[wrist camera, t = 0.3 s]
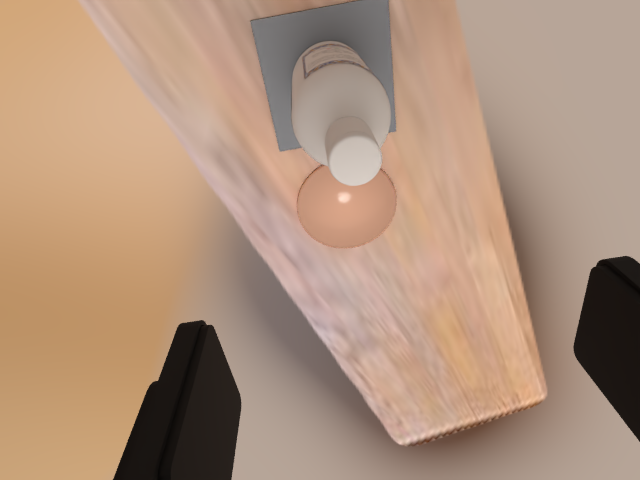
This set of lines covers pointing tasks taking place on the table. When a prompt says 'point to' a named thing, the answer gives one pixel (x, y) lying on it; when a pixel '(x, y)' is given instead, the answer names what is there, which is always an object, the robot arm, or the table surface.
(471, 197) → the table surface
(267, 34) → the tile
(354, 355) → the table surface
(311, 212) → the flat salmon disc
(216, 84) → the table surface
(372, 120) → the bath foam
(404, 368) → the table surface
